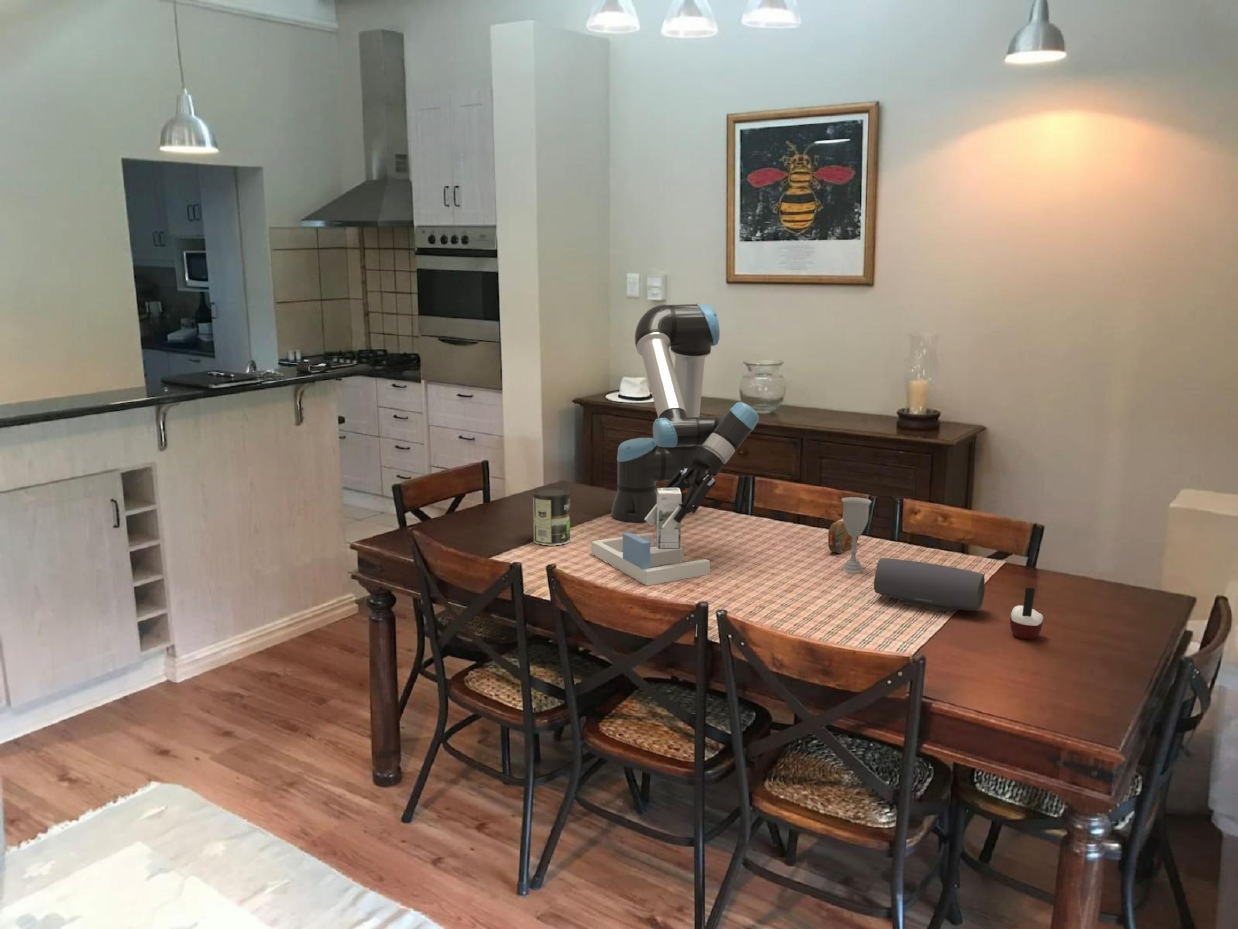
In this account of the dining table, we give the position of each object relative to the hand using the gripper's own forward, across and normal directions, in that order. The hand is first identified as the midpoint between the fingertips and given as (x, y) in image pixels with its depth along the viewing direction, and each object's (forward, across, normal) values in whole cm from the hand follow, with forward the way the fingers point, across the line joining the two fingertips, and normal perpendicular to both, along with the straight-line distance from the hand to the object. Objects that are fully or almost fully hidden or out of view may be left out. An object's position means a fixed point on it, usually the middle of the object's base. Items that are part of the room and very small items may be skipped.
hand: (656, 526), depth 243 cm
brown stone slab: (-30, -5, -48) cm, 57 cm away
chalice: (-23, -20, -41) cm, 51 cm away
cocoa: (-24, -71, -42) cm, 86 cm away
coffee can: (+16, +39, -1) cm, 42 cm away
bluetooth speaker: (-21, -48, -39) cm, 66 cm away
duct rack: (+7, +8, -10) cm, 15 cm away
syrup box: (+2, 0, -6) cm, 7 cm away
